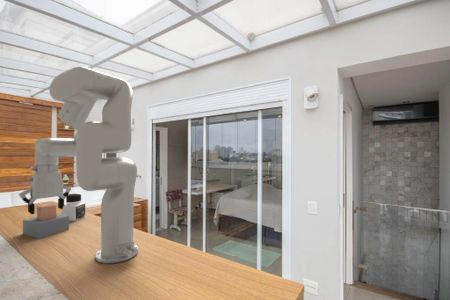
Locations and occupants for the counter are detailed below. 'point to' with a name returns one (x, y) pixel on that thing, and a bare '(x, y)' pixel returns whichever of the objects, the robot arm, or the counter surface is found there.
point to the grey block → (45, 226)
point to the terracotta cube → (46, 212)
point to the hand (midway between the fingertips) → (46, 211)
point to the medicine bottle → (73, 207)
